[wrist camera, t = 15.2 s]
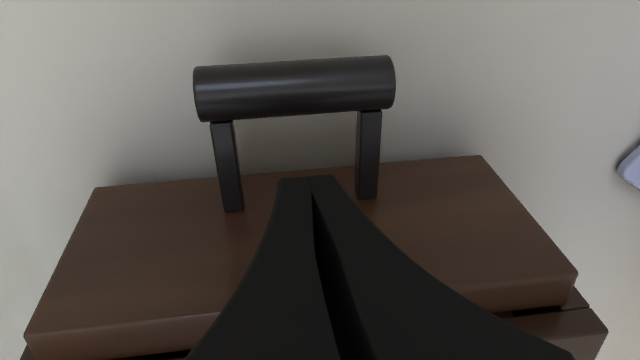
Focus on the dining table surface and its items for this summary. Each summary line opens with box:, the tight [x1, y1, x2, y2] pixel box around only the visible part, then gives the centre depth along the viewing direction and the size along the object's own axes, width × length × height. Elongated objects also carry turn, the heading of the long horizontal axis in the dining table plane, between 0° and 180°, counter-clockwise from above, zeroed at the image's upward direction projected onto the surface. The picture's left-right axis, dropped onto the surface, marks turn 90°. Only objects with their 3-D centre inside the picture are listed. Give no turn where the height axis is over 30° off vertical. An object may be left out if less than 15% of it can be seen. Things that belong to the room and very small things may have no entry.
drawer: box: [24, 55, 578, 360], centre depth 15 cm, size 16×13×6 cm
